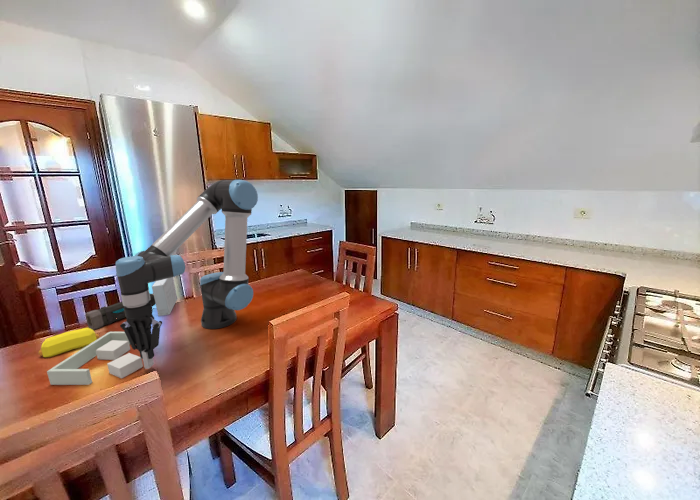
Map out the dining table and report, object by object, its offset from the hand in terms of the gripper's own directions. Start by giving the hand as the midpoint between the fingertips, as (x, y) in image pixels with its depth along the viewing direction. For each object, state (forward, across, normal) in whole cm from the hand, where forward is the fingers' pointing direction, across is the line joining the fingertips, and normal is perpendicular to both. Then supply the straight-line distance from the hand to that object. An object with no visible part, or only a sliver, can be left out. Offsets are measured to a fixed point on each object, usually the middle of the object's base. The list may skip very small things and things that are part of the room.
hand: (149, 366), depth 104 cm
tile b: (+2, +8, 0) cm, 9 cm away
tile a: (+2, +20, -10) cm, 22 cm away
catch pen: (+1, +21, -5) cm, 22 cm away
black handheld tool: (+2, +39, -42) cm, 57 cm away
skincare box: (+2, +25, -52) cm, 58 cm away
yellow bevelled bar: (+2, +41, -14) cm, 43 cm away
